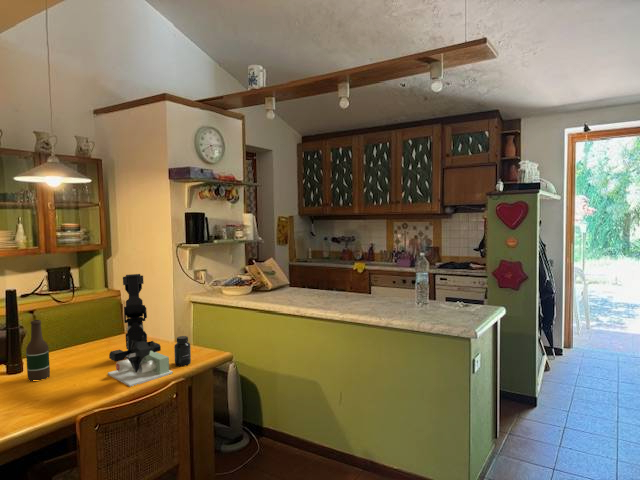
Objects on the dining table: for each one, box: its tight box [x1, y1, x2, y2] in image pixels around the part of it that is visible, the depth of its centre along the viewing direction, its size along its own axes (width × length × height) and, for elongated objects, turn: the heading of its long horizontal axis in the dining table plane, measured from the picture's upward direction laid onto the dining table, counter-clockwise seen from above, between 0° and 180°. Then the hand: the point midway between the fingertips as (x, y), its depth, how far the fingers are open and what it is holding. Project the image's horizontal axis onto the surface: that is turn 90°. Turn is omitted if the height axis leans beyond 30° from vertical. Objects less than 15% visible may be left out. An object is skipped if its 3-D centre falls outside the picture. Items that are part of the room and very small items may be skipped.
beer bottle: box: [25, 319, 51, 382], centre depth 178 cm, size 8×8×24 cm
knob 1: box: [115, 357, 146, 372], centre depth 183 cm, size 12×4×4 cm, turn 139°
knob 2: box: [138, 360, 157, 373], centre depth 181 cm, size 12×4×4 cm, turn 139°
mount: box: [107, 351, 174, 388], centre depth 181 cm, size 20×18×7 cm
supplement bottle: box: [173, 335, 192, 367], centre depth 193 cm, size 7×7×12 cm
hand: (136, 372), depth 176 cm, fingers closed
